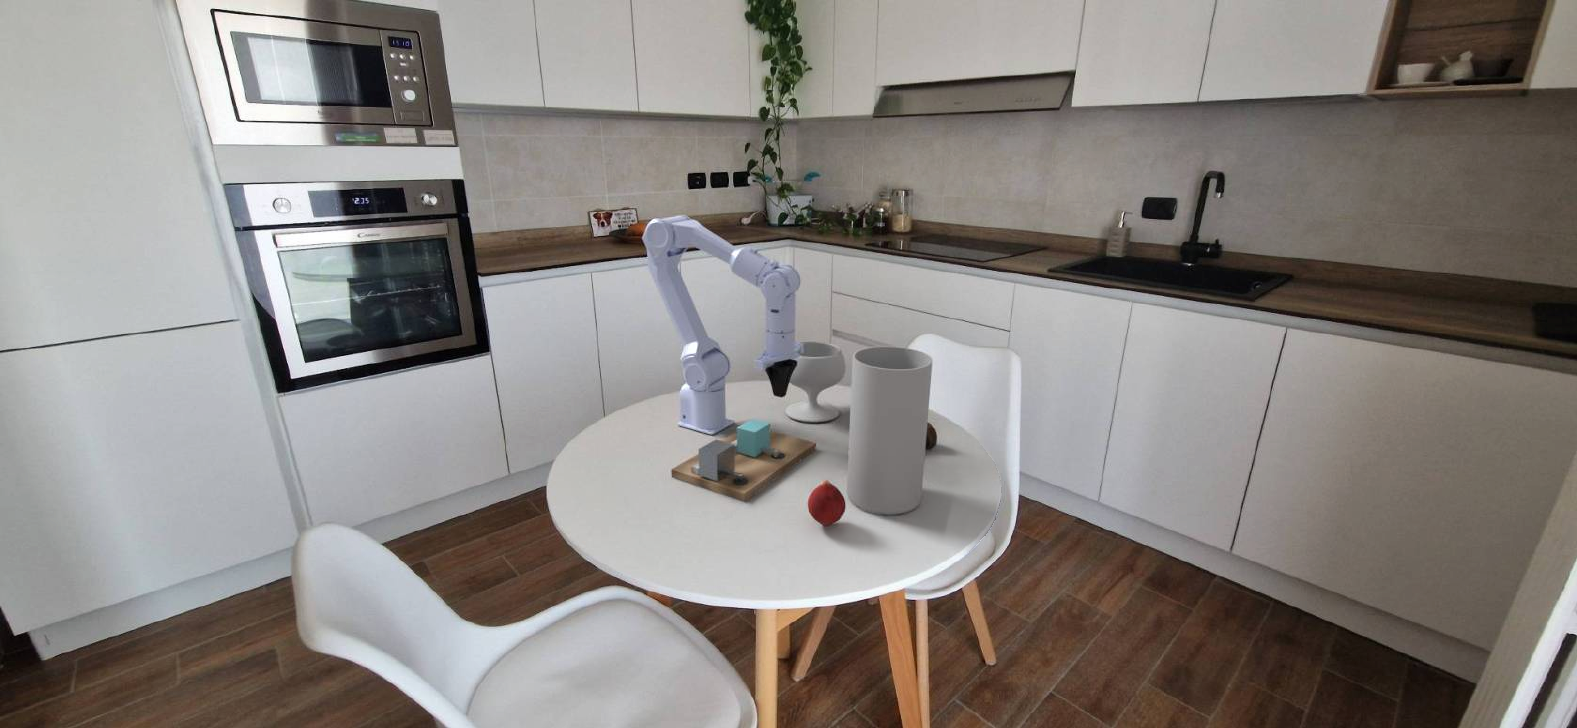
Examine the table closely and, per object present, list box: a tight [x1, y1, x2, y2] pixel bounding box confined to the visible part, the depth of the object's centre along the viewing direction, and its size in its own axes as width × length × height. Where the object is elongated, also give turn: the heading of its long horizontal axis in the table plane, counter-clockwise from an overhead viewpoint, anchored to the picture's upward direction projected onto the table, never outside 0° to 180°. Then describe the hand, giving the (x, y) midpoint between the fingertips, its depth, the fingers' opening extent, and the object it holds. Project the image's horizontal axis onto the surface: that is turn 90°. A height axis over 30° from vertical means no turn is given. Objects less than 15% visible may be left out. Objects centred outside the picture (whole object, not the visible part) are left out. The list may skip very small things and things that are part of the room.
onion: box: [807, 478, 846, 527], centre depth 103 cm, size 6×6×8 cm
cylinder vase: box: [846, 345, 933, 516], centre depth 109 cm, size 12×12×25 cm
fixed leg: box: [698, 438, 744, 481], centre depth 116 cm, size 8×5×5 cm, turn 58°
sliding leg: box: [736, 418, 779, 457], centre depth 125 cm, size 8×5×5 cm, turn 58°
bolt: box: [925, 421, 938, 451], centre depth 129 cm, size 6×5×15 cm
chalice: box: [784, 341, 846, 423], centre depth 146 cm, size 14×14×15 cm
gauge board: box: [670, 430, 817, 502], centre depth 125 cm, size 16×24×3 cm, turn 148°
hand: (779, 395), depth 133 cm, fingers closed
